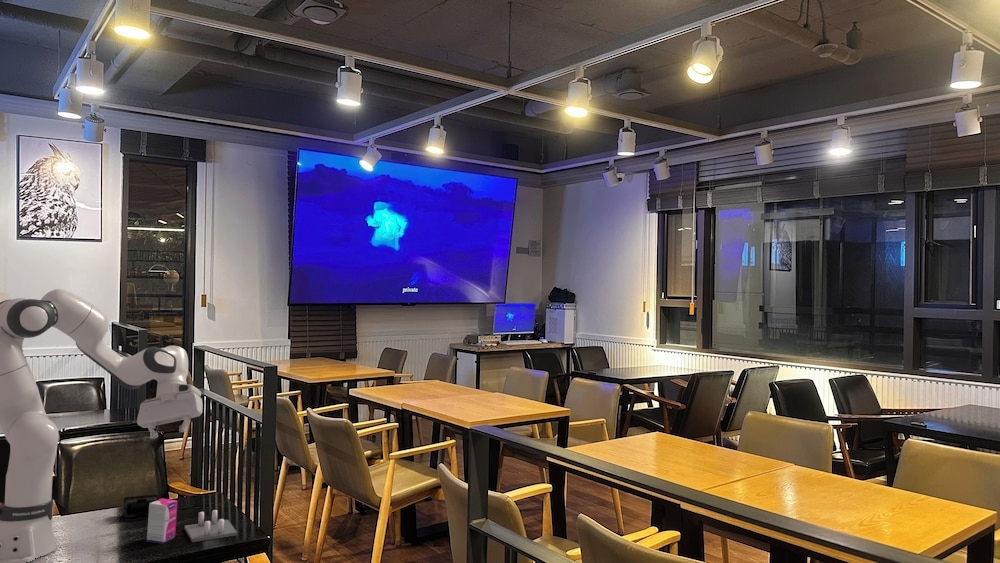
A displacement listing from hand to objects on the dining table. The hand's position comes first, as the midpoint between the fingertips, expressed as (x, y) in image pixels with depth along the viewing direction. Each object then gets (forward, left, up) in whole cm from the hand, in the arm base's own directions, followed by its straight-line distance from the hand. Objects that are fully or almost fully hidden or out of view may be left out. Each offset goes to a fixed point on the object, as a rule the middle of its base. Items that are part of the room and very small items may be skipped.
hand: (168, 434), depth 222 cm
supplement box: (-2, -9, -30) cm, 31 cm away
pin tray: (+12, -9, -30) cm, 33 cm away
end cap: (-5, +16, -30) cm, 34 cm away
